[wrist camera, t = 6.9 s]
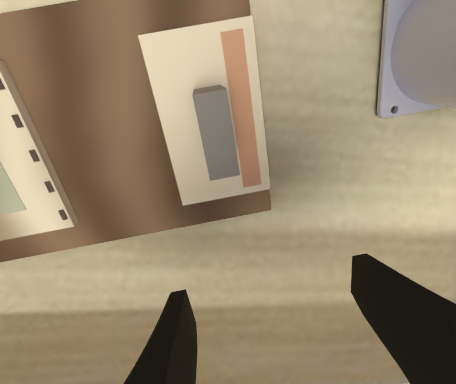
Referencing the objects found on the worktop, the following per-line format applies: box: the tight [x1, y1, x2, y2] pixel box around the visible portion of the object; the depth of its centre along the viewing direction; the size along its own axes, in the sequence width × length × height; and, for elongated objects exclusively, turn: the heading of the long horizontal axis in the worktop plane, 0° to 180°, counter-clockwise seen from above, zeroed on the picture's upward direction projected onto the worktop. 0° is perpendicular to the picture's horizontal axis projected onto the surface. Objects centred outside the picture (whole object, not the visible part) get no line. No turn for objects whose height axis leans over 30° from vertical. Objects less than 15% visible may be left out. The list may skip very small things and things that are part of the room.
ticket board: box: [0, 0, 271, 262], centre depth 16 cm, size 22×14×2 cm, turn 99°
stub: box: [138, 15, 271, 206], centre depth 14 cm, size 6×10×4 cm, turn 9°
